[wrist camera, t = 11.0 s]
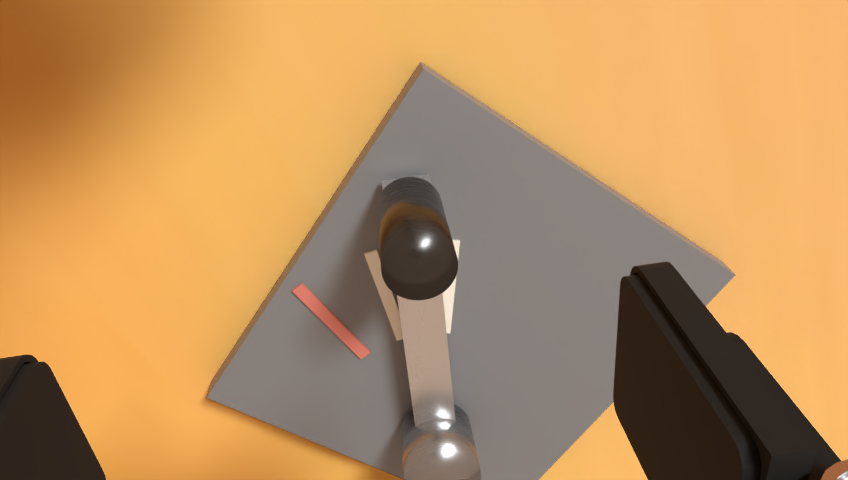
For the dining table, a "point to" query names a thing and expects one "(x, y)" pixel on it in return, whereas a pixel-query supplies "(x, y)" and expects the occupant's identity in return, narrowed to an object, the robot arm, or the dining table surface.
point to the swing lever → (424, 328)
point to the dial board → (458, 294)
